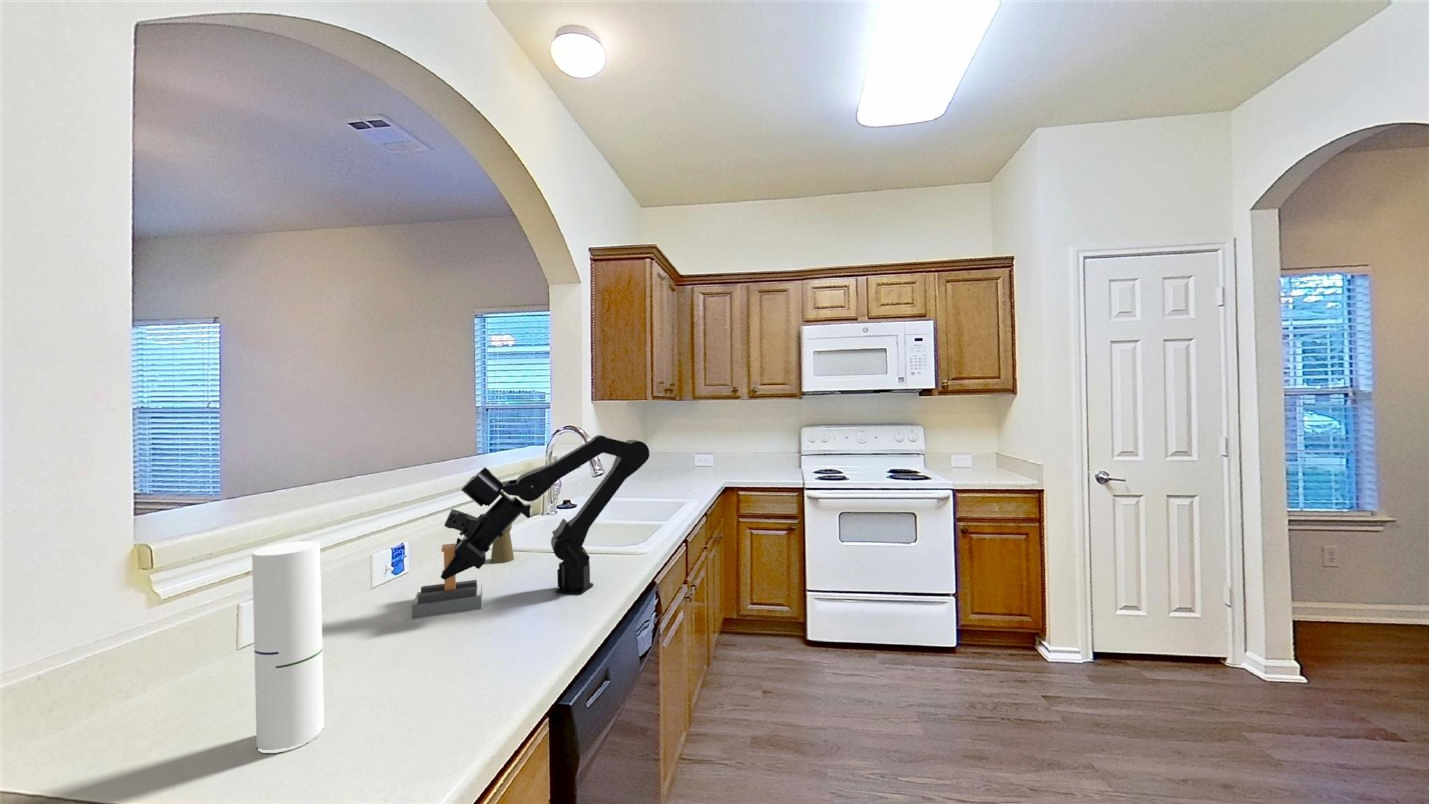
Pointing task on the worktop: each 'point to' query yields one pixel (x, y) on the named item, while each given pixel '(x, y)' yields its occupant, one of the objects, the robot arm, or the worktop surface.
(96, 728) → the worktop surface
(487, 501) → the robot arm
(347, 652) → the worktop surface
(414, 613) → the grey slotted base
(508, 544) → the cork
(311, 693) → the cylindrical container
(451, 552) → the handle
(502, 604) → the worktop surface
